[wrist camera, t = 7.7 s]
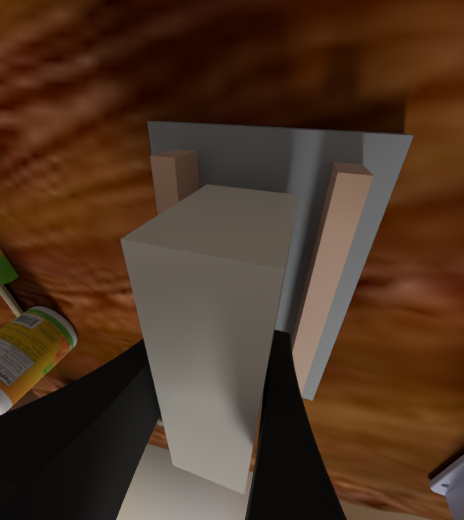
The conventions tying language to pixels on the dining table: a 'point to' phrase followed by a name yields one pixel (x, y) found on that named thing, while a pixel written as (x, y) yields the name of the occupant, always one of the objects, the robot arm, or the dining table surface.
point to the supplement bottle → (31, 351)
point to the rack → (308, 211)
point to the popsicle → (4, 274)
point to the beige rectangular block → (211, 319)
